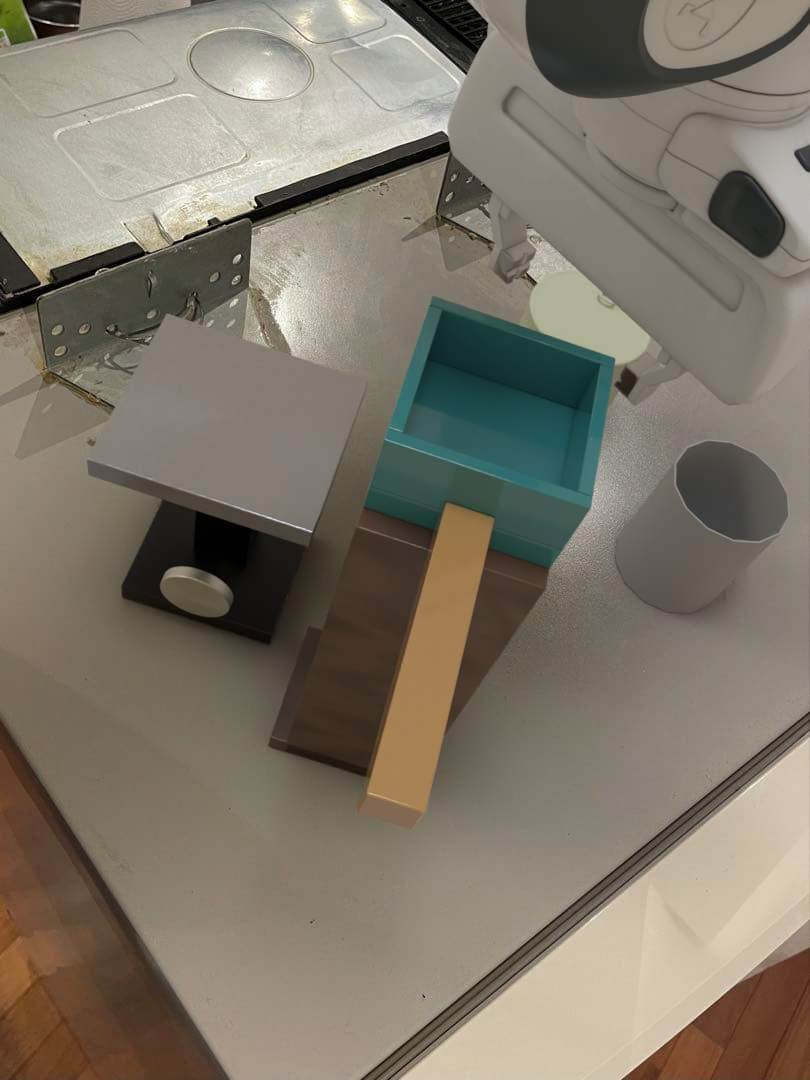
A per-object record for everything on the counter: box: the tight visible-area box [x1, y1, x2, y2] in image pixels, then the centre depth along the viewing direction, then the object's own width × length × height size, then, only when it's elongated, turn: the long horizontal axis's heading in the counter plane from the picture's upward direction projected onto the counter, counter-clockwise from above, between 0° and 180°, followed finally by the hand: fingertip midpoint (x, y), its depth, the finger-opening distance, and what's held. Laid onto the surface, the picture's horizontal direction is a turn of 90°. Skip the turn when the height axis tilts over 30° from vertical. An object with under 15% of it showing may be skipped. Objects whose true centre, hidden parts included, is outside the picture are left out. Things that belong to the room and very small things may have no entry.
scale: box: [86, 313, 369, 645], centre depth 60 cm, size 12×11×16 cm
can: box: [518, 269, 652, 411], centre depth 75 cm, size 9×9×12 cm
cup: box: [615, 438, 791, 614], centre depth 70 cm, size 8×8×10 cm
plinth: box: [268, 505, 551, 778], centre depth 52 cm, size 10×8×26 cm
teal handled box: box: [356, 295, 615, 830], centre depth 37 cm, size 8×20×4 cm, turn 166°
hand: (567, 330), depth 51 cm, fingers open, 8 cm apart
